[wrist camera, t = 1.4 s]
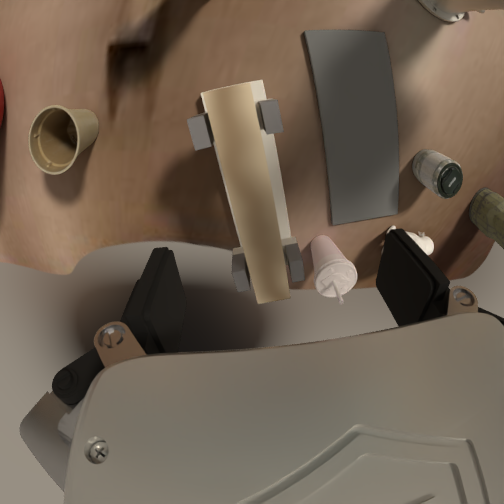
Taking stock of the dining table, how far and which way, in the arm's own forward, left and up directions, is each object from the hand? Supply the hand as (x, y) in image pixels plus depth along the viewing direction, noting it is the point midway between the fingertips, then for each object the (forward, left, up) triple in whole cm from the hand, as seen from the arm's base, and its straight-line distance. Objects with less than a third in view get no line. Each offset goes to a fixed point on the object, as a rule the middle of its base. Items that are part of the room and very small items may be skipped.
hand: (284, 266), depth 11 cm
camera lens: (-28, +7, -29) cm, 40 cm away
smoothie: (-7, +19, -29) cm, 35 cm away
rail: (+2, +4, -19) cm, 19 cm away
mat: (-16, 0, -29) cm, 33 cm away
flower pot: (+24, -10, -29) cm, 39 cm away
